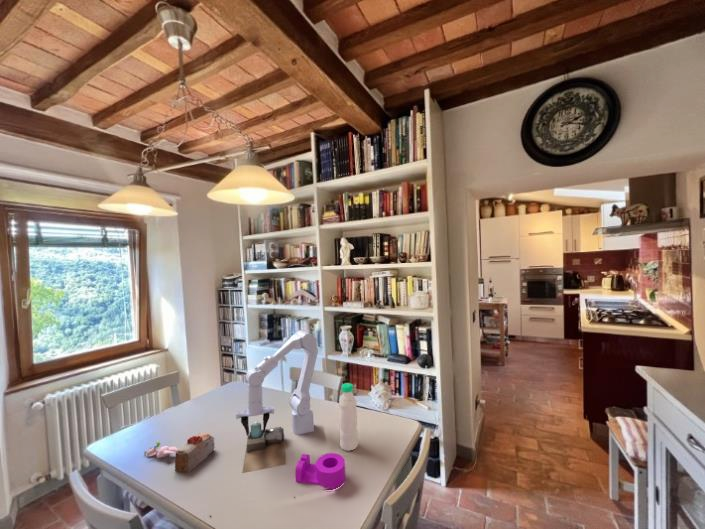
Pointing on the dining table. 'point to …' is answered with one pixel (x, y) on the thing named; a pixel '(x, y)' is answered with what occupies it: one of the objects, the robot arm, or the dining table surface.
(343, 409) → the water bottle
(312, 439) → the dining table surface
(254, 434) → the blue bottle white cap
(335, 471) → the tape dispenser
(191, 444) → the food item
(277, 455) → the mounting board
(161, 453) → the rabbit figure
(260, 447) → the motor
